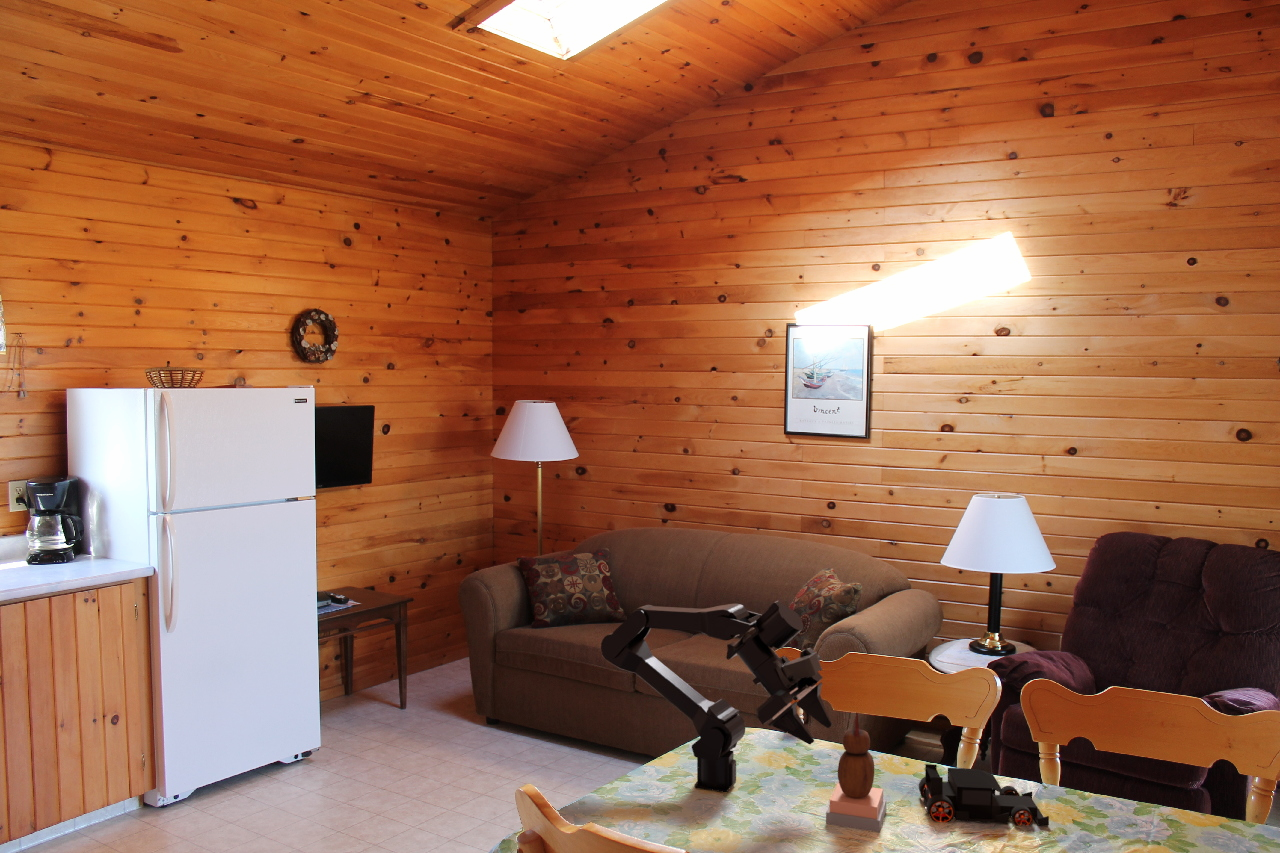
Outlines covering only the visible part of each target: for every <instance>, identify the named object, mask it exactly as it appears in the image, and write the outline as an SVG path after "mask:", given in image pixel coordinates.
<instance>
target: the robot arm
mask: <svg viewBox="0 0 1280 853" xmlns="http://www.w3.org/2000/svg"><path fill="white" fill-rule="evenodd" d="M651 629H657V630H658V629H661V630H673V631H675V630H676V631H689V632H697V633H698V632H699V633H702V634H703V635H705V636H707V637H709V638H713V639H717V640H721V641H730V640H733V639H734V638H736V637H738V636H740V635H742V636H741V637H740V639H738V640H737V641H736V642H733V641H732V642H729V643H727V644H726V647H727V650H726V651H727V652H726V656H725V657H726V660H727V661H729V660H731V659H733V658H734V657H737V656H738V657H739V658H740V660H741V661H742V662H743V664H745V666H746V667H747V668H748V671H749V672H751V674H752V675H753V676H754V679H752V682H753V684H755V686H757V685H758V684H760V685H761V686H762V688H764V690H765V691H766V693H768V695H769V696H768V698H767V699H766V701H764V702H763V703H762V704H761V705H760V706H758V707H757V708H756V718H757V720H759V721H760V723H761V724H762V725H763V726H764V725H765V724H767V723H768V722H769V723H768V726H769V727H774V728H775V729H778V730H780V731H781V732H785V733H787V734H788V735H791V736H793V737H795V738H796V739H799V741H802V742H804V743H806V744H808V745H812V744H813V743H814V742H815V739H814V737H813V736H812V734H811V731H810V730H809V729H808V728H807V726H806V724H805V723H804V722H803V720H802V718H801V717H800V715H799V714H798V708H799V709H801V710H802V711H804V712H805V713H806V714H808V715H809V716H811V718H813V719H814V720H815V721H817V722H818V723H819V724H820V725H822V726H824V727H825V728H827V729H830V728H831V727H832V726H833V722H832V720H831V718H830V715H829V713H828V710H827V709H826V706H825V703H824V701H823V699H822V696H821V691H822V686H823V681H821V680H822V679H824V677H823V676H822V674H820V673H819V672H822V670H823V667H822V666H821V663H820V661H821V660H822V657H821V655H819V654H818V653H817V651H815V650H814V649H813V648H812V647H809V648H808V647H807V648H806V649H805V648H804V649H803V650H801V651H800V654H799V657H797V658H795V659H793V660H790V659H789V658H788V657H787V656H784V655H782V656H779V655H778V653H776V651H775V650H774V649H773V648H775V649H778V650H779V649H782V648H784V647H785V646H786V645H787V644H789V642H790V641H791V640H793V638H794V637H796V636H797V635H798V634H799V633H800V632H801V631H803V629H804V623H803V621H802V618H801V617H800V615H799V614H798V613H797V612H796V610H795V611H794V610H792V608H790V607H788V606H787V605H784V604H782V602H781V601H780V600H776V601H774V602H773V603H772V604H770V605H769V607H768V609H767V610H765V611H764V613H763V614H761V613H757V612H754V611H750V610H747V609H746V607H745V606H744V605H743V604H741V603H728V604H723V605H717V606H713V607H707V608H696V607H695V608H694V607H693V608H692V607H676V606H660V605H659V606H657V605H652V604H646V605H643V606H640V607H638V608H635V609H634V610H633V612H632V613H631V614H630V615H629V617H628V618H627V619H626V620H625V621H623V622H622V623H621V624H620V625H618V627H617V628H616V629H615V630H613V632H611V633H609V634H607V635H605V636H603V639H602V641H601V643H600V649H601V656H602V658H603V659H604V660H605V661H606V662H608V663H609V664H611V665H613V666H614V667H617V669H619V670H623V671H626V672H629V673H634V674H635V675H636V676H638V677H639V678H640V679H642V680H643V681H644V682H645V683H646V684H647V685H649V686H650V687H651V688H652V689H654V691H656V692H657V693H658V694H659V695H661V696H662V697H663V698H664V699H666V700H667V701H668V702H669V703H670V704H671V705H673V706H674V707H675V708H676V709H677V710H679V711H680V712H681V713H683V715H684V716H686V717H687V718H688V719H689V720H690V721H691V722H692V724H693V727H694V729H695V731H696V733H697V736H699V737H700V738H699V739H697V740H696V741H695V742H694V743H693V744H692V745H691V750H692V753H693V757H695V758H697V760H696V762H697V763H696V764H697V765H696V767H697V769H696V771H697V772H696V773H697V774H696V776H697V781H696V782H695V783H694V784H693V785H694V788H695V789H701V790H708V791H714V792H720V793H728V792H729V791H730V789H731V788H732V787H733V786H734V784H736V782H737V760H736V759H734V750H733V749H734V748H736V746H737V745H738V743H739V741H740V740H741V739H743V737H744V736H745V733H746V725H745V720H744V718H743V717H742V716H741V715H740V714H739V713H740V710H739V709H736V708H735V707H733V706H732V705H730V704H729V702H728V701H727V700H726V699H724V698H720V699H718V700H717V701H715V702H714V701H710V700H709V699H707V698H705V697H704V696H703V695H702V694H700V693H699V692H698V691H697V690H696V689H694V688H693V687H692V686H690V684H688V683H687V682H686V681H684V680H683V679H682V678H681V677H680V676H678V675H677V674H676V673H675V672H674V671H672V670H671V669H670V668H669V667H667V665H665V664H664V663H662V662H661V661H660V660H659V659H658V658H656V657H655V656H654V655H653V654H652V652H651V649H650V646H649V645H648V643H647V641H646V640H645V639H646V638H647V636H648V635H649V633H650V632H651ZM754 629H755V632H753V633H752V634H748V633H749V632H751V631H753V630H754ZM820 681H821V682H820ZM819 682H820V683H819ZM797 700H798V701H797ZM793 701H794V702H793Z"/></svg>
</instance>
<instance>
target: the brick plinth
mask: <svg viewBox="0 0 1280 853" xmlns="http://www.w3.org/2000/svg"><path fill="white" fill-rule="evenodd" d="M832 791H833V792H832V794H831V796H830V798H829V804H828V807H827V809H826V812H825V824H826V825H830V826H831V825H832V826H838V827H844V828H851V829H856V830H861V831H862V830H863V831H867V832H869V831H870V832H873V833H874V832H875V833H881V828H882V826H883V824H884V823H883V822H884V820H885V816H886V812H887V799H885V798H884V788H880V787H874V786H872V788H871V791H870V793H869V794H868V795H867V796H865V797H863V798H852V797H849V796H847V795H846V794H845V793H843V791H842V789H841V787H840V784H839V781H838V782H836V784H835V787H834V789H833V790H832Z"/></svg>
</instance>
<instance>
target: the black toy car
mask: <svg viewBox="0 0 1280 853" xmlns="http://www.w3.org/2000/svg"><path fill="white" fill-rule="evenodd" d="M937 766H938V765H937V764H931V763H930V764H926V763H925V773H924V774H925V776H924V777H922V778H921V779H920V781H919V784H918V791H919V793H920V796H921V798H920V799H921V802H922V803H923V805H924V809H925V811H926V812H927V814H928V816H929V819H931V821H933V823H951V822H952V821H953V819H954V820H955V821H956V822H974V823H977V822H978V823H995V824H1000V823H1001V824H1010V818H1011V819H1012V820H1013V822H1014V824H1015V825H1016V826H1023V825H1024V826H1031V825H1032V824H1033V822H1034V821H1035V822H1036V824H1037V825H1038V826H1049V825H1050V816H1049V815H1046V816H1044V814H1042V812H1041V811H1040V809H1039V807H1038V806H1037V805H1036V802H1035V801H1034V800H1033V791H1028V792H1025V793H1022V794H1021V795H1020V793H1019V792H1018V790H1017V789H1016V787H1014V786H1012V785H1006V786H1002V787H1001V785H1000V784H999V782H998V781H997V779H996V777H995V776H994V774H993V773H990V772H988V771H986V770H984V769H982V768H964V767H963V768H961V767H947V781H944V780H943V777H942V776H940V774H939V772H938V769H937ZM996 792H998V793H999V794H996Z"/></svg>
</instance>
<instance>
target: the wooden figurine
mask: <svg viewBox="0 0 1280 853" xmlns="http://www.w3.org/2000/svg"><path fill="white" fill-rule="evenodd" d="M854 717H855V718H854V725H853V728H848V729H847V730H845V732H844V734H843V737H842V745H843V748H844V752H843V753H841V756H840V758H839V761H838V766H837V778H838V782H839V784H840V787H841V789H842V791H843V793H845V794H846V795H847V796H849V797H852V798H863V797H865V796H867V795H868V794H869V793H870V791H871V788H872V787H873V784H874V779H875V762H874V757H873V756H872V754H871V753H870V751H869V750H870V747H871V739H870V735H869V732H867V731H866V730H864V729H860V728H859V713H858V712H855V716H854Z"/></svg>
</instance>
